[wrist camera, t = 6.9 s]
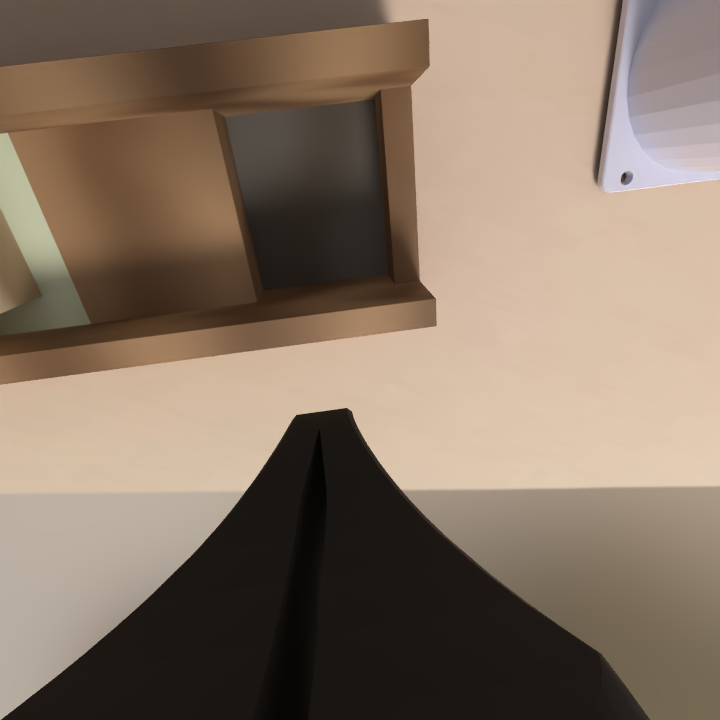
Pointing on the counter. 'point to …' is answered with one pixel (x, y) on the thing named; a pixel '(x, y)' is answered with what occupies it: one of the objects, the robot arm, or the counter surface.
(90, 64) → the channel
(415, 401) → the counter surface
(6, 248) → the birch block
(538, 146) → the counter surface
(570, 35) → the counter surface
